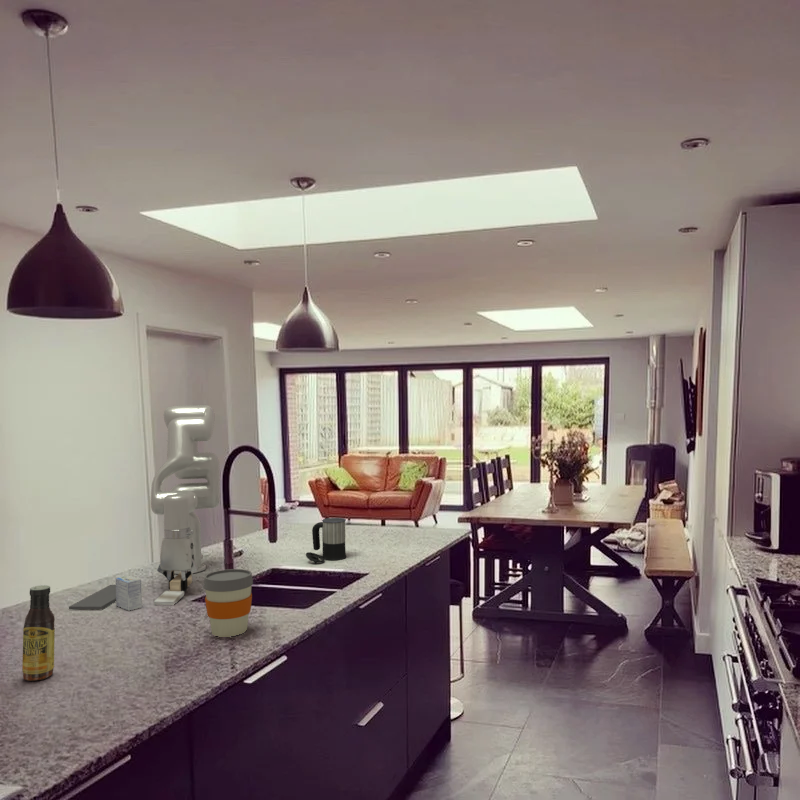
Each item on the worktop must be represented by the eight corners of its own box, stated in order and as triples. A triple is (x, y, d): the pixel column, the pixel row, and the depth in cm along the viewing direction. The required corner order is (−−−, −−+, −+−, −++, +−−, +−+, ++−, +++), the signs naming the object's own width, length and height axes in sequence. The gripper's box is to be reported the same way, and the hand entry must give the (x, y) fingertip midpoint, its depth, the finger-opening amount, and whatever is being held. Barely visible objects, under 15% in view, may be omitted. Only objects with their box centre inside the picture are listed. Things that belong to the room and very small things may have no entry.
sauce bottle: (16, 683, 146) (15, 591, 147) (31, 671, 153) (29, 584, 153) (47, 681, 147) (45, 590, 147) (60, 670, 153) (59, 583, 153)
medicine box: (142, 608, 200) (142, 578, 200) (128, 611, 197) (127, 581, 197) (130, 603, 205) (129, 574, 205) (115, 606, 202) (115, 577, 202)
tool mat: (110, 587, 223) (110, 584, 223) (139, 587, 223) (139, 584, 223) (68, 610, 199) (68, 606, 199) (101, 610, 199) (101, 606, 199)
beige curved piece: (178, 582, 220) (177, 570, 220) (196, 582, 220) (195, 570, 219) (154, 605, 202) (153, 592, 202) (173, 605, 202) (172, 592, 201)
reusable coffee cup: (212, 624, 183) (210, 569, 183) (258, 623, 183) (257, 568, 183) (198, 640, 171) (197, 581, 171) (248, 639, 171) (247, 580, 171)
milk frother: (348, 555, 264) (347, 517, 264) (341, 565, 248) (340, 524, 248) (313, 555, 265) (312, 517, 265) (303, 565, 249) (302, 524, 250)
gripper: (206, 531, 215) (207, 588, 216) (157, 531, 217) (158, 588, 217) (197, 536, 208) (198, 595, 208) (146, 536, 209) (147, 595, 209)
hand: (178, 591), depth 213 cm, fingers closed on beige curved piece, 2 cm apart
